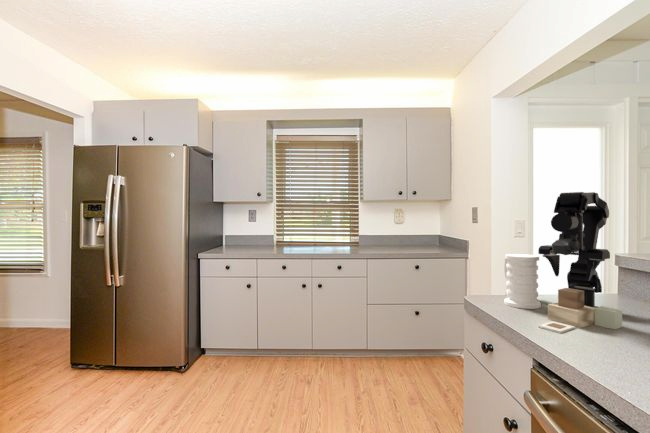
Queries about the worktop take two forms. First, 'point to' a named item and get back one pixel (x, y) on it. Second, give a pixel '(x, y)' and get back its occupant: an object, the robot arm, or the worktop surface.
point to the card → (556, 327)
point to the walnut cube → (571, 298)
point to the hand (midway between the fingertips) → (572, 278)
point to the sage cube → (608, 317)
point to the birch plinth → (572, 315)
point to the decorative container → (522, 281)
